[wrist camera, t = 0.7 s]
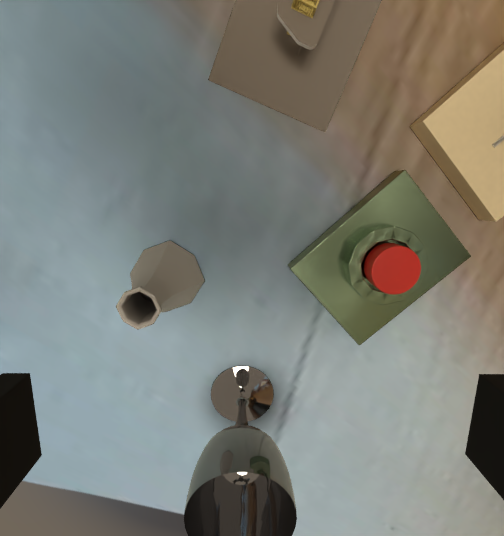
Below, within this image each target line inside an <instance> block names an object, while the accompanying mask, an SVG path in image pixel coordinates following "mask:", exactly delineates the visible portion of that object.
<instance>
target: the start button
mask: <svg viewBox="0 0 504 536" xmlns="http://www.w3.org/2000/svg"><path fill="white" fill-rule="evenodd" d="M420 272H421V264H420V260H419V258H418V256H417V255H416V253H415V252H414V251H412V250H411V249H409V248H407V247H404V246H401V245H399V244H395V243H383V244H380V245H378V246H376V247H375V248H373V249H372V250H371V251H370V252H369V254H368V255H367V257H366V259H365V262H364V273H365V276H366V278H367V280H368V281H369V282H370V283H371V284H372V285H373V286H375V287H376V288H378V289H379V290H380V291H382V292H384V293H387V294H401V293H404V292H406V291H408V290H409V289H411V288H412V287H413V286H414V285H415V284H416V282H417V280H418V279H419V276H420Z"/></svg>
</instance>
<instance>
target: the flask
mask: <svg viewBox="0 0 504 536" xmlns="http://www.w3.org/2000/svg"><path fill="white" fill-rule="evenodd" d="M130 276H131V282H132V289H131V290H129V291H126V292H124V294H123V295H122V297H121V299H120V300H119V302H118V304H117V305H116V308H117V310H118V312H119V314H120V316H121V318H122V320H123V321H124V322H125V323H127V324H129V325H131V326H132V327H134V328H136V329H141V328H144V327H146V326H149V325H152V324H154V322H155V321H156V319H157V317H158V316H159V314H160V313H161V312H167V311H170V310H173V309H175V308H178V307H181V306H184V305H187V304H189V303H191V302H192V300H193V299H194V297H195V295H196V294H197V292H198V291H199V289H200V288H201V286H202V285H203V283H204V281H205V280H204V278H203V275H202V273H201V271H200V268H199V266H198V263H197V261H196V258H195V256H194V255H193V254H191V253H189V252H188V251H186V250H185V249H183V248H181V247H180V246H178V245H177V244H175V243H173V242H172V241H167V242H164V243H162V244H159V245H156V246H153V247H151V248H148V249H145V250H144V251H143V252H142V254H141V256H140V257H139V259H138V261H137V263H136V264H135V266H134V268H133V269H132V271H131V273H130Z"/></svg>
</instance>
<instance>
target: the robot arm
mask: <svg viewBox="0 0 504 536" xmlns="http://www.w3.org/2000/svg"><path fill="white" fill-rule="evenodd" d="M465 454H466V455H467V457H468V458H469V459H470V460H471V461H472V463H473V464H474V465H475V466H476V467H477V469H478V470H479V471H480V472H481V473H482V475H483V476H484V477H485V478H486V479H487V480H488V482H489V483H490V484H491V485H492V486H493V488H494V489H495V490H496V491H497V492H498V494H499V495H500V496H501V497H502V498H503V500H504V374H479V379H478V385H477V390H476V396H475V402H474V407H473V413H472V419H471V424H470V430H469V435H468V441H467V447H466V452H465ZM41 455H42V454H41V447H40V441H39V434H38V427H37V420H36V413H35V406H34V399H33V392H32V385H31V378H30V373H3V374H1V375H0V508H1V507H2V506H3V504H4V503H5V502H6V501H7V499H8V498H9V497H10V495H11V494H12V493H13V492H14V490H15V489H16V487H17V486H18V485H19V484H20V482H21V481H22V480H23V479H24V477H25V476H26V475H27V474H28V472H29V471H30V470H31V468H32V467H33V466H34V464H35V463H36V462H37V461H38V459H39V458H40V457H41Z"/></svg>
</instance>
